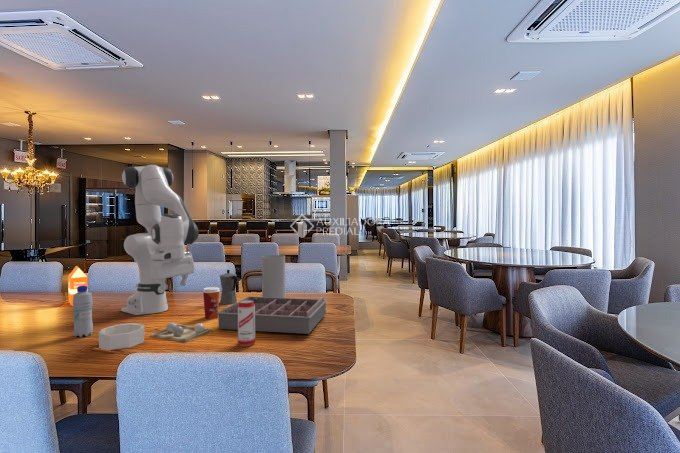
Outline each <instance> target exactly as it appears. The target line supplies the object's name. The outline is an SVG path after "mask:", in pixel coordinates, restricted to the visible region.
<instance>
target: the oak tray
mask: <svg viewBox="0 0 680 453" xmlns="http://www.w3.org/2000/svg"><path fill="white" fill-rule="evenodd" d="M176 325H177V326H181V327H182V328H183V329H184V333H183V334H182V335H181V336H179V337H176V336H174V335H173V332H168V331H167V329H166V328H163V329H161V330H158V331H154V332H151V333H150V337H151V338H157V339H158V338H159V339H163V340H168V341H169V340H170V341H176V342H180V343H181V342H183V343H189V342H191V341H193V340H195V339H198V338H200V337H202V336H205V335H207V334H210V333H213V328H209V327H208V328H207V327H205V330H204V332H202V333H199V334H198V333H196V332H195V331H194V327H195V325H193V326H192V325H187V324H179V323H178V324H176Z"/></svg>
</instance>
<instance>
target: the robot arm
mask: <svg viewBox="0 0 680 453" xmlns="http://www.w3.org/2000/svg"><path fill="white" fill-rule="evenodd" d="M121 180H122V182H123V184H124V187H126V188H127V189H130V190H131V189H132V190H135V196H134V205H135V219H136V222H137V223H138V224H140V225H141V226H143V227H144V228H145V229H146V231H147V232H141V233H135V234H130V235H127V237H125V239H124V242H123V248H124V250H125V252H126V254H128V255H129V256H131V257H132V258H133V259H134V261H135V262H136V265H137V267H138V276H139V283H138V284H137V283H136V284H135V288H136V291H135V292H133V293H132V294H131V295H130V296H128V298H127V299H126V306H125V307H122V308H121V309H120V311H121V312H124V313H126V314H127V313H128V314H131V315H135V316H140V315H150V314H157V313H162V312H166V311H167V310H169V304H168V301H167V293H166V290H169V284H167V283H166V279H169V278H174V277H178V276H179V277H180V276H181V281H179V285H180V287H183V286H186V285H187V279H188V277H189V276H188V275H189V274H193V273H194V272H195V270H196V268H195V261H194V258H193V254H192V253H191V252H190V251H186V250H185V245H193V244H194V243H195V242H197V240H198V238H199V229H198V225H197V224H196V223H195V221H193V219H192V216H191V215H190V212H189V211H188V209H187V207H186V204H185V203H184V200H183V199H182V197H181V196H180V195H179V194H178V193H176V192H174V190H172V189H171V186H172V185H173V183H174V174H173V171H172V170H171V168H170V167H165V166H159V165H157V164H147V165H145V166H144V165H143V166H132V165H131V166H127V167H125V168H124V169H123V172H122V174H121ZM161 207H162V208H166V209H169V210H171V211H173V212H174V213H164V214H162V212H161V211H162V210H161Z"/></svg>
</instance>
